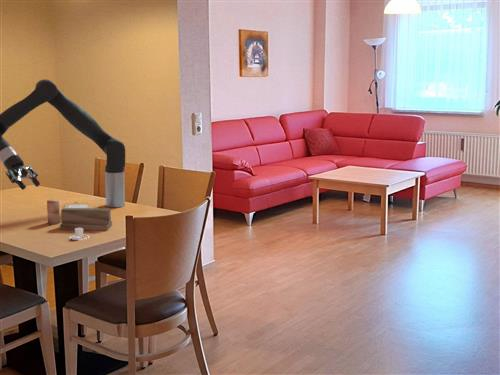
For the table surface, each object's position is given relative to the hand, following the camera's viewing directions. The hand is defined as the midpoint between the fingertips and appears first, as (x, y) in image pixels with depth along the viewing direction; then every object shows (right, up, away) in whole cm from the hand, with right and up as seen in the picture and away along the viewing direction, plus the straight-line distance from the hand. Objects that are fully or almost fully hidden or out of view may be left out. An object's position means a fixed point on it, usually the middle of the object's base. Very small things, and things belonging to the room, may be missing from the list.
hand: (31, 187), depth 273 cm
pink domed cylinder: (+10, -16, -2) cm, 19 cm away
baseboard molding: (+14, -13, +16) cm, 25 cm away
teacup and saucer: (+25, -21, -25) cm, 41 cm away
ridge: (+27, -17, -8) cm, 33 cm away
